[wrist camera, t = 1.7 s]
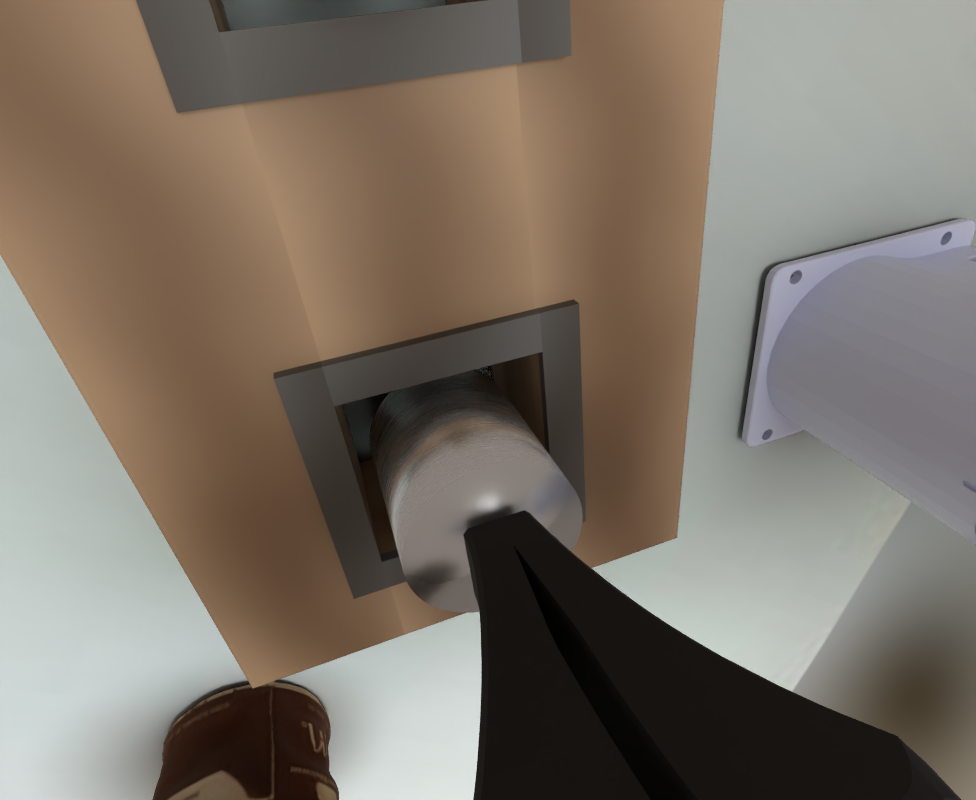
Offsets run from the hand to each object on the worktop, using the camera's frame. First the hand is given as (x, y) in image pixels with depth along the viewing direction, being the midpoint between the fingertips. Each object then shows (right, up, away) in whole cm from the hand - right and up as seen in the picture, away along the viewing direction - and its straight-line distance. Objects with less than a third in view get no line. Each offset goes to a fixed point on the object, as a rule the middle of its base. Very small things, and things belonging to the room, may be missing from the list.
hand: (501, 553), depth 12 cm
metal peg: (-2, +2, +4) cm, 5 cm away
